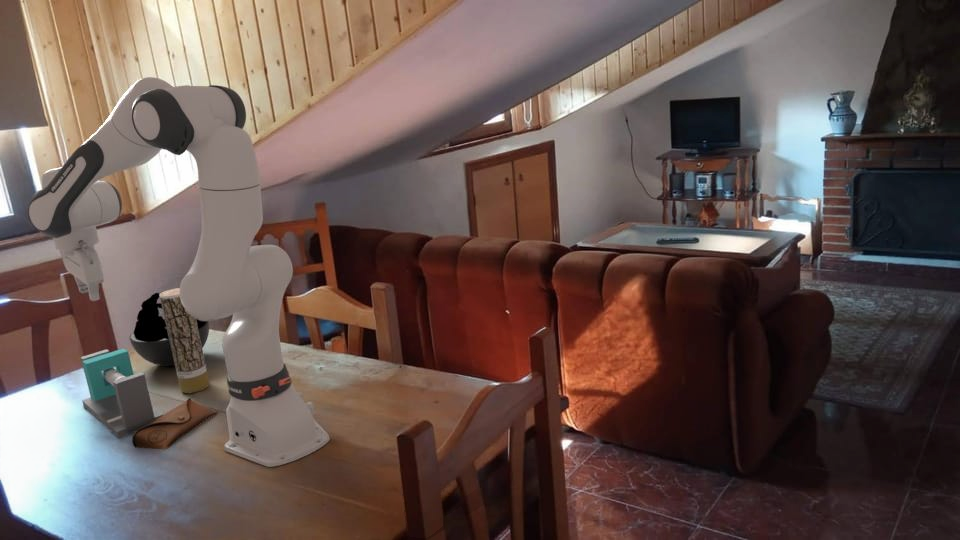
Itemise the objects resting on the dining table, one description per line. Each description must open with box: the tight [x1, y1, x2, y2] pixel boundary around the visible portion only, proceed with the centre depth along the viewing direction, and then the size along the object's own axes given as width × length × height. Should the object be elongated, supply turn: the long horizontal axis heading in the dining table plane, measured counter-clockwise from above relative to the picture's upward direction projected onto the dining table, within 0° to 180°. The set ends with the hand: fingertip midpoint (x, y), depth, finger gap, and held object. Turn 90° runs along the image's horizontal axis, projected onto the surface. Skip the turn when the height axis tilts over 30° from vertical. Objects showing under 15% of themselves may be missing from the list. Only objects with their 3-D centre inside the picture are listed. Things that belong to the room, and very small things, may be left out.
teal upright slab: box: [81, 347, 134, 401], centre depth 172 cm, size 3×9×9 cm, turn 133°
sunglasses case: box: [131, 397, 219, 451], centre depth 161 cm, size 18×7×7 cm, turn 161°
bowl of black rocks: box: [128, 292, 210, 367], centre depth 198 cm, size 20×20×19 cm
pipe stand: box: [80, 349, 165, 439], centre depth 171 cm, size 26×10×12 cm, turn 43°
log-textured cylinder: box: [159, 287, 210, 394], centre depth 179 cm, size 7×7×25 cm
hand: (89, 296), depth 171 cm, fingers open, 8 cm apart
